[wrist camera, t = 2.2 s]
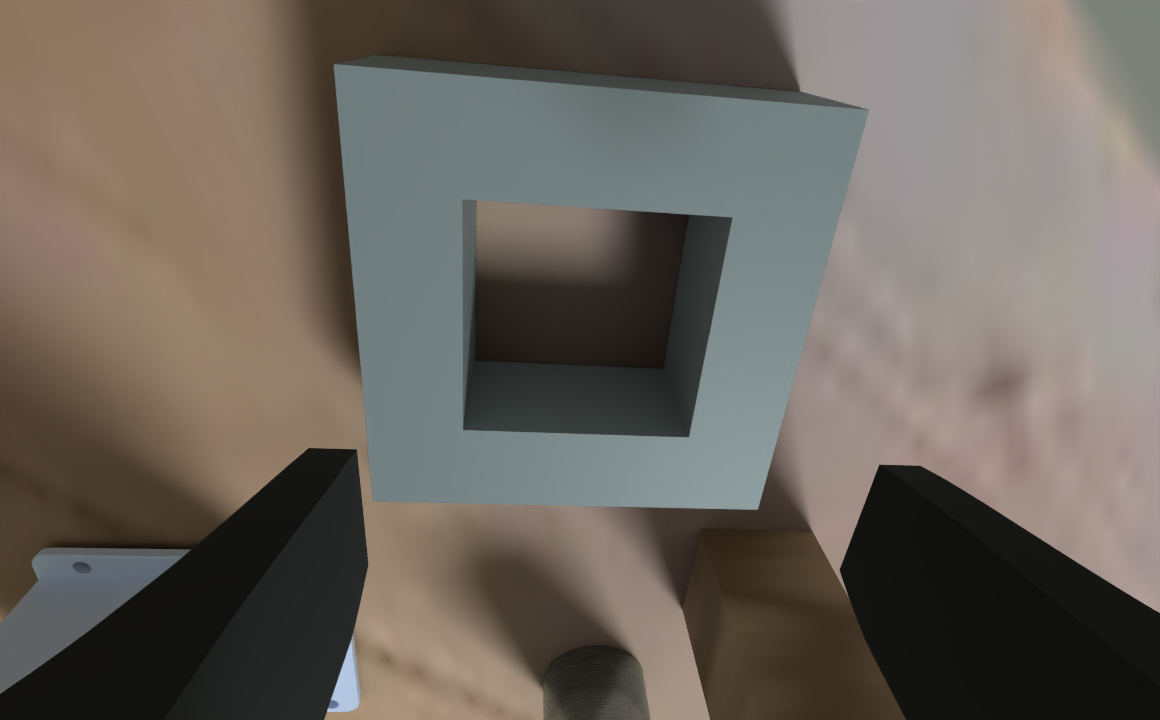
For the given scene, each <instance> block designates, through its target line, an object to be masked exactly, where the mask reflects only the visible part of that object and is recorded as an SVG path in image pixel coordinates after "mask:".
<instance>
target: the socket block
mask: <svg viewBox="0 0 1160 720" xmlns="http://www.w3.org/2000/svg"><path fill="white" fill-rule="evenodd" d="M334 75H335V86H336V97H337V109H338V120H339V131H340V142H341V153H342V164H343V176H344V187H345V198H346V209H347V220H348V231H349V243H350V254H351V265H352V276H353V287H354V298H355V310H356V321H357V332H358V343H359V354H360V365H361V377H362V388H363V399H364V410H365V421H366V432H367V444H368V455H369V466H370V477H371V488H372V500H373V501H380V502H426V503H471V504H517V505H563V506H608V507H654V508H700V509H745V510H758V507H759V504H760V500H761V496H762V493H763V489H764V486H765V482H766V478H767V475H768V471H769V468H770V464H771V460H772V457H773V453H774V450H775V446H776V442H777V439H778V435H779V432H780V428H781V424H782V421H783V417H784V414H785V410H786V406H787V403H788V399H789V396H790V392H791V388H792V385H793V381H794V378H795V374H796V371H797V367H798V363H799V360H800V356H801V353H802V349H803V345H804V342H805V338H806V335H807V331H808V327H809V324H810V320H811V317H812V313H813V309H814V306H815V302H816V299H817V295H818V291H819V288H820V284H821V281H822V277H823V273H824V270H825V266H826V263H827V259H828V255H829V252H830V248H831V245H832V241H833V238H834V234H835V230H836V227H837V223H838V220H839V216H840V212H841V209H842V205H843V202H844V198H845V194H846V191H847V187H848V184H849V180H850V176H851V173H852V169H853V166H854V162H855V158H856V155H857V151H858V148H859V144H860V140H861V137H862V133H863V130H864V126H865V122H866V119H867V115H868V112H869V110H868V109H864V108H860V107H856V106H853V105H849V104H845V103H841V102H837V101H834V100H830V99H826V98H822V97H819V96H815V95H811V94H807V93H804V92H797V91H785V90H774V89H762V88H751V87H740V86H728V85H717V84H705V83H694V82H682V81H671V80H659V79H648V78H637V77H625V76H614V75H602V74H591V73H579V72H568V71H556V70H545V69H534V68H522V67H511V66H499V65H488V64H476V63H465V62H453V61H442V60H431V59H419V58H408V57H396V56H385V55H373V56H369V57H364V58H360V59H355V60H350V61H346V62H341V63H336V64H334ZM476 200H480V201H495V202H510V203H525V204H540V205H555V206H570V207H585V208H600V209H614V210H629V211H644V212H659V213H674V214H689V218H688V224H687V230H686V236H685V242H684V248H683V254H682V260H681V266H680V272H679V278H678V284H677V290H676V296H675V302H674V308H673V314H672V320H671V326H670V332H669V338H668V344H667V350H666V356H665V362H664V369H657V368H634V367H611V366H588V365H565V364H542V363H518V362H495V361H475V306H476Z"/></svg>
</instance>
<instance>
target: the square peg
mask: <svg viewBox="0 0 1160 720" xmlns="http://www.w3.org/2000/svg"><path fill="white" fill-rule="evenodd" d="M683 613H684V617H685V621H686V625H687V629H688V633H689V637H690V641H691V645H692V649H693V653H694V657H695V661H696V665H697V669H698V673H699V677H700V681H701V685H702V689H703V693H704V697H705V701H706V704H707V708H708V712H709V716H710V720H906V719H905V717H904V715H903V713H902V711H901V709H900V707H899V705H898V704H897V702H896V700H895V698H894V696H893V694H892V692H891V690H890V688H889V686H888V684H887V682H886V680H885V678H884V676H883V674H882V672H881V670H880V669H879V667H878V665H877V663H876V661H875V659H874V657H873V655H872V653H871V651H870V649H869V647H868V645H867V643H866V641H865V639H864V636H863V633H862V631H861V628H860V626H859V623H858V621H857V618H856V615H855V613H854V610H853V608H852V605H851V602H850V600H849V598H848V596H847V594H846V592H845V590H844V589H843V587H842V585H841V583H840V581H839V579H838V578H837V576H836V574H835V572H834V570H833V568H832V567H831V565H830V563H829V561H828V559H827V557H826V556H825V554H824V552H823V550H822V548H821V546H820V545H819V543H818V541H817V539H816V537H815V535H814V534H813V532H812V531H775V530H721V529H701V531H700V536H699V540H698V544H697V549H696V553H695V558H694V562H693V566H692V571H691V575H690V579H689V584H688V588H687V593H686V597H685V601H684V606H683Z"/></svg>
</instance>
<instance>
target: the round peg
mask: <svg viewBox="0 0 1160 720" xmlns="http://www.w3.org/2000/svg"><path fill="white" fill-rule="evenodd" d="M543 709H544V720H651V719H650V713H649V707H648V701H647V695H646V689H645V683H644V677H643V671H642V668H641V665H640V664H639V662H638V661H637V660H636V659H635V658H634V657H633V656H632V655H630V654H629V653H627V652H625V651H623V650H620V649H617V648H613V647H606V646H589V647H583V648H578V649H575V650H572V651H569V652H567V653H565V654H563V655H561V656H560V657H558V658H557V659H555V660H554V661H553V662H552V663H551V664H550V665H549V667H548V668H547V670H546V671H545V674H544V678H543Z"/></svg>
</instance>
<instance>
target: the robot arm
mask: <svg viewBox="0 0 1160 720" xmlns="http://www.w3.org/2000/svg"><path fill="white" fill-rule="evenodd" d="M31 562H32V567H33V569H34V572H35V574H36V576H37V578H38V581H37V582H36V583H35V584H34V586H33V587H32V588H31V589H30V590H29V591H28V592H27V593H26V595H25V596H24V597H23V598H22V599H21V600H20V601H19V602H18V604H17V605H16V606H15V607H14V608H13V609H12V610H11V611H10V613H9V614H8V615H7V616H6V617H5V618H4V619H3V620H2V622H1V623H0V720H324V718H325V716H326V713H327V712H348V711H352V710H354V709H356V708H357V707H358V706H359V702H360V698H361V692H360V684H359V676H358V668H357V659H356V651H355V643H354V635H353V631H354V627H355V623H356V618H357V614H358V610H359V605H360V601H361V596H362V592H363V587H364V582H365V577H366V573H367V568H368V557H367V547H366V537H365V527H364V517H363V507H362V497H361V487H360V477H359V467H358V457H357V450H355V449H321V448H308V449H307V450H306V451H305V452H304V453H303V454H301V455H300V456H299V457H298V458H297V459H296V460H294V461H293V462H292V463H291V464H290V465H288V466H287V467H286V468H285V469H284V470H283V471H282V472H280V473H279V474H278V475H277V476H276V477H275V478H274V479H272V480H271V481H270V482H269V483H268V484H267V485H266V486H264V487H263V488H262V489H261V490H260V491H259V492H258V493H257V494H255V495H254V496H253V497H252V498H251V499H250V500H249V501H247V502H246V503H245V504H244V505H243V506H242V507H241V508H239V509H238V510H237V511H236V512H235V513H234V514H233V515H231V516H230V517H229V518H228V519H227V520H226V521H224V522H223V523H222V524H221V525H220V526H219V527H217V528H216V529H215V530H214V531H213V532H211V533H210V534H209V535H208V536H207V537H206V538H204V539H203V540H202V541H201V542H200V543H198V544H197V545H196V546H195V547H194V548H192V549H191V550H185V549H116V548H44V549H42V550H41V551H39V552H38V554H37V555H36V556H35V557H34V558H33V560H32V561H31ZM840 573H841V576H842V579H843V582H844V584H845V587H846V590H847V593H848V596H849V599H850V602H851V605H852V608H853V610H854V613H855V615H856V618H857V621H858V623H859V626H860V628H861V631H862V633H863V636H864V639H865V641H866V643H867V645H868V647H869V649H870V651H871V653H872V655H873V657H874V659H875V661H876V663H877V665H878V667H879V669H880V670H881V672H882V674H883V676H884V678H885V680H886V682H887V684H888V686H889V688H890V690H891V692H892V694H893V696H894V698H895V700H896V702H897V704H898V705H899V707H900V709H901V711H902V713H903V715H904V717H905V719H906V720H1160V613H1159V612H1157V611H1155V610H1153V609H1152V608H1150V607H1148V606H1147V605H1145V604H1143V603H1142V602H1140V601H1138V600H1137V599H1135V598H1133V597H1132V596H1130V595H1129V594H1127V593H1125V592H1124V591H1122V590H1120V589H1119V588H1117V587H1115V586H1114V585H1112V584H1111V583H1109V582H1107V581H1106V580H1104V579H1102V578H1101V577H1099V576H1098V575H1096V574H1094V573H1093V572H1091V571H1090V570H1088V569H1086V568H1085V567H1083V566H1082V565H1080V564H1079V563H1077V562H1075V561H1074V560H1072V559H1071V558H1069V557H1067V556H1066V555H1064V554H1063V553H1061V552H1060V551H1058V550H1056V549H1055V548H1053V547H1052V546H1050V545H1049V544H1047V543H1045V542H1044V541H1042V540H1041V539H1039V538H1038V537H1036V536H1035V535H1033V534H1031V533H1030V532H1028V531H1027V530H1025V529H1024V528H1022V527H1020V526H1019V525H1017V524H1016V523H1014V522H1013V521H1011V520H1010V519H1008V518H1006V517H1005V516H1003V515H1002V514H1000V513H999V512H997V511H995V510H994V509H992V508H991V507H989V506H988V505H986V504H984V503H983V502H981V501H980V500H978V499H976V498H975V497H973V496H972V495H970V494H968V493H967V492H965V491H963V490H962V489H960V488H959V487H957V486H955V485H954V484H952V483H950V482H949V481H947V480H945V479H943V478H942V477H940V476H938V475H936V474H934V473H933V472H931V471H929V470H927V469H925V468H923V467H921V466H905V465H879V467H878V470H877V472H876V475H875V478H874V480H873V483H872V486H871V488H870V491H869V494H868V496H867V499H866V502H865V504H864V507H863V510H862V512H861V515H860V517H859V520H858V523H857V525H856V528H855V531H854V533H853V536H852V539H851V541H850V544H849V547H848V549H847V552H846V555H845V557H844V560H843V562H842V565H841V568H840Z"/></svg>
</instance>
